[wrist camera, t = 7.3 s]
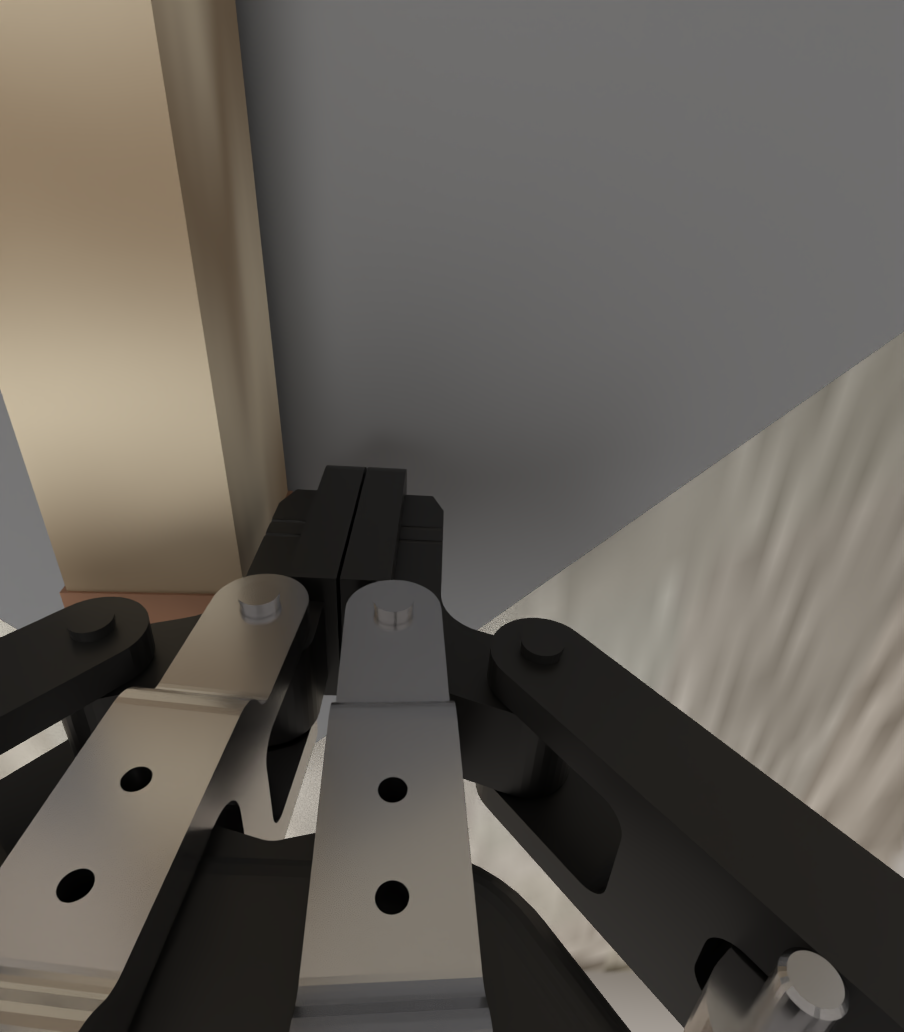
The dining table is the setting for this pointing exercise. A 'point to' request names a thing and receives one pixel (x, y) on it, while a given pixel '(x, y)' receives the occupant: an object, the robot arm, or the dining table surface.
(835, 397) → the dining table surface
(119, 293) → the brass latch lever
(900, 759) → the dining table surface
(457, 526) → the base plate
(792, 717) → the dining table surface
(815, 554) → the dining table surface
